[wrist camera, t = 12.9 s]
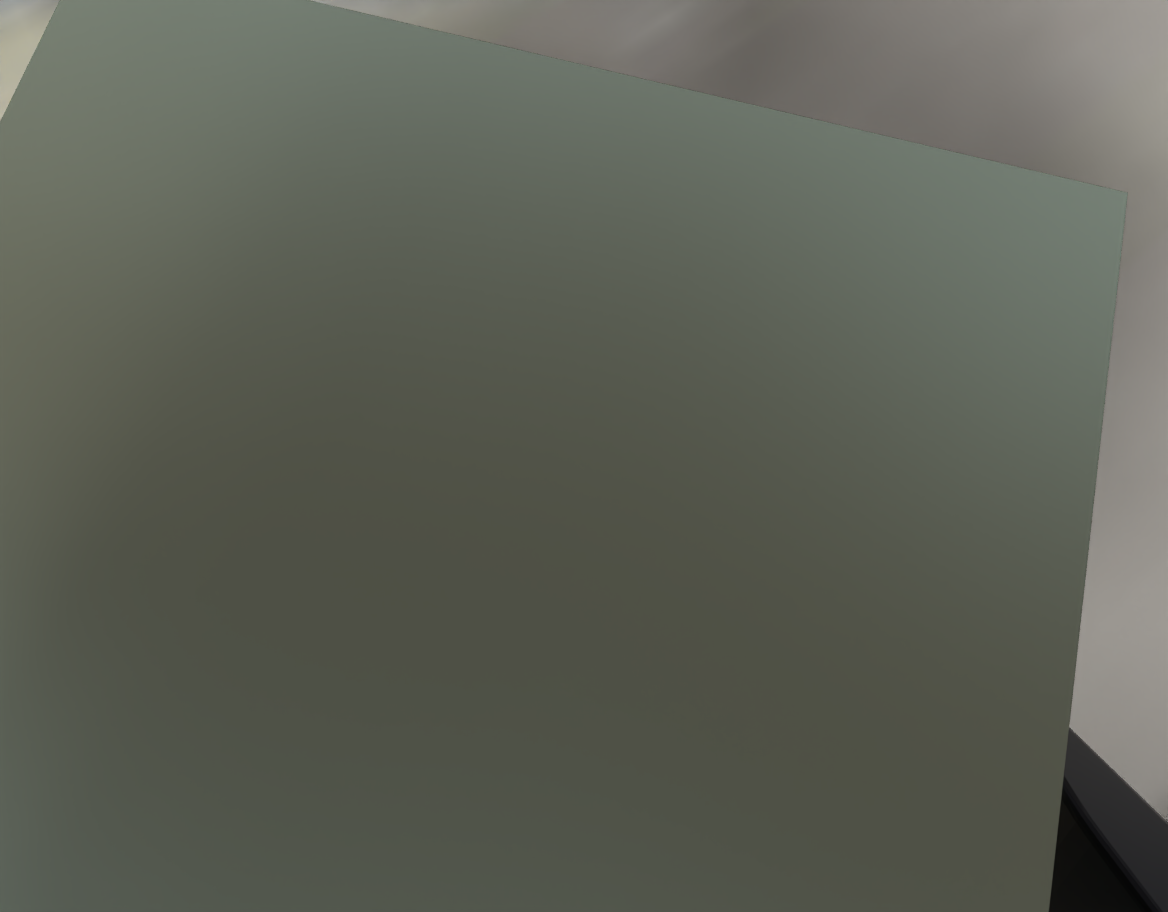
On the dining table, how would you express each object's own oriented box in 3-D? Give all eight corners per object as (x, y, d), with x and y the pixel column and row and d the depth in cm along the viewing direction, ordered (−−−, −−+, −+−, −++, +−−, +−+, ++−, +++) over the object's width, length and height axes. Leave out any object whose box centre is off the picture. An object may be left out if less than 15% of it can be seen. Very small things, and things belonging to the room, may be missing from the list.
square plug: (637, 834, 15) (978, 1574, 3) (366, 761, 16) (-493, 1131, 3) (698, 561, 17) (1129, 191, 4) (446, 496, 17) (84, -53, 4)
